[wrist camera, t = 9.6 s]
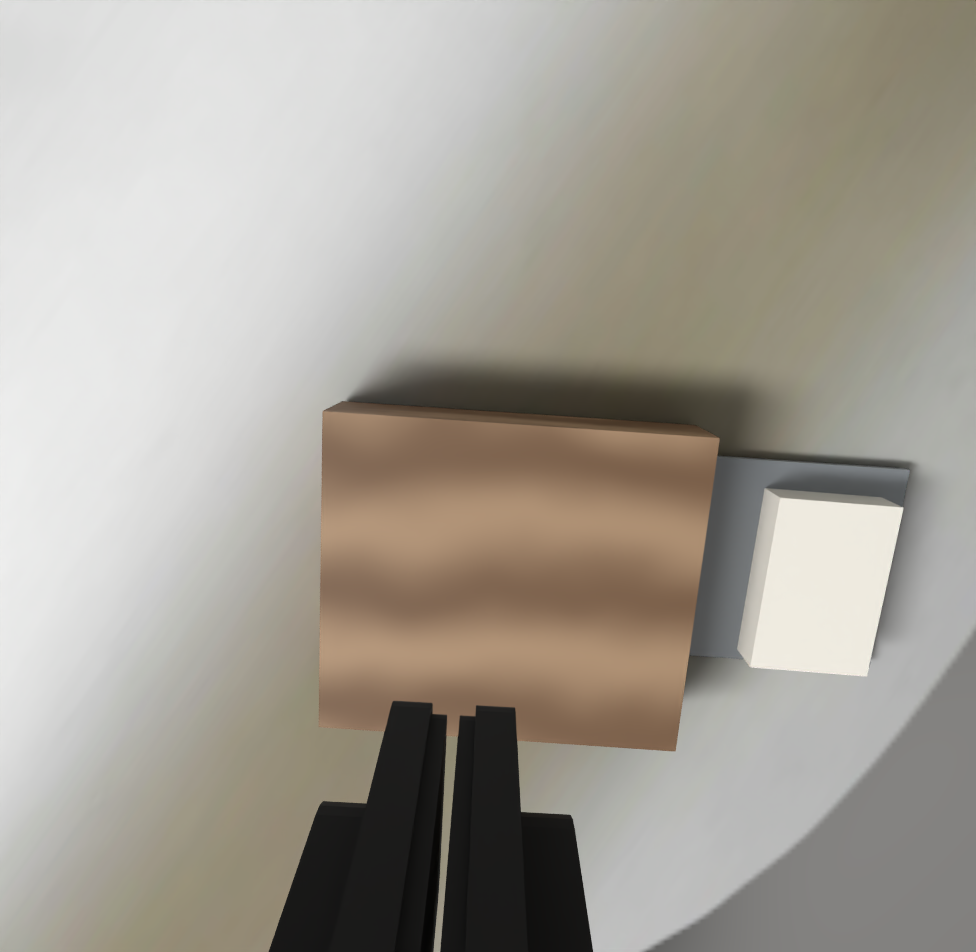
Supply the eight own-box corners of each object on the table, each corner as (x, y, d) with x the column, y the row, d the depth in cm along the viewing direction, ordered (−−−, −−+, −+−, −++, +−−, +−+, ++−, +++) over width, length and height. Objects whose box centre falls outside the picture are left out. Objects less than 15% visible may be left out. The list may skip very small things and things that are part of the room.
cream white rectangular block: (903, 507, 33) (881, 497, 35) (780, 497, 33) (764, 487, 35) (866, 676, 35) (847, 657, 37) (750, 667, 35) (737, 649, 37)
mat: (695, 454, 35) (697, 455, 35) (905, 468, 35) (910, 470, 35) (669, 650, 38) (670, 654, 37) (865, 664, 38) (869, 667, 37)
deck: (342, 401, 35) (322, 411, 31) (695, 425, 35) (719, 438, 31) (337, 686, 39) (318, 726, 35) (657, 707, 39) (675, 751, 35)
